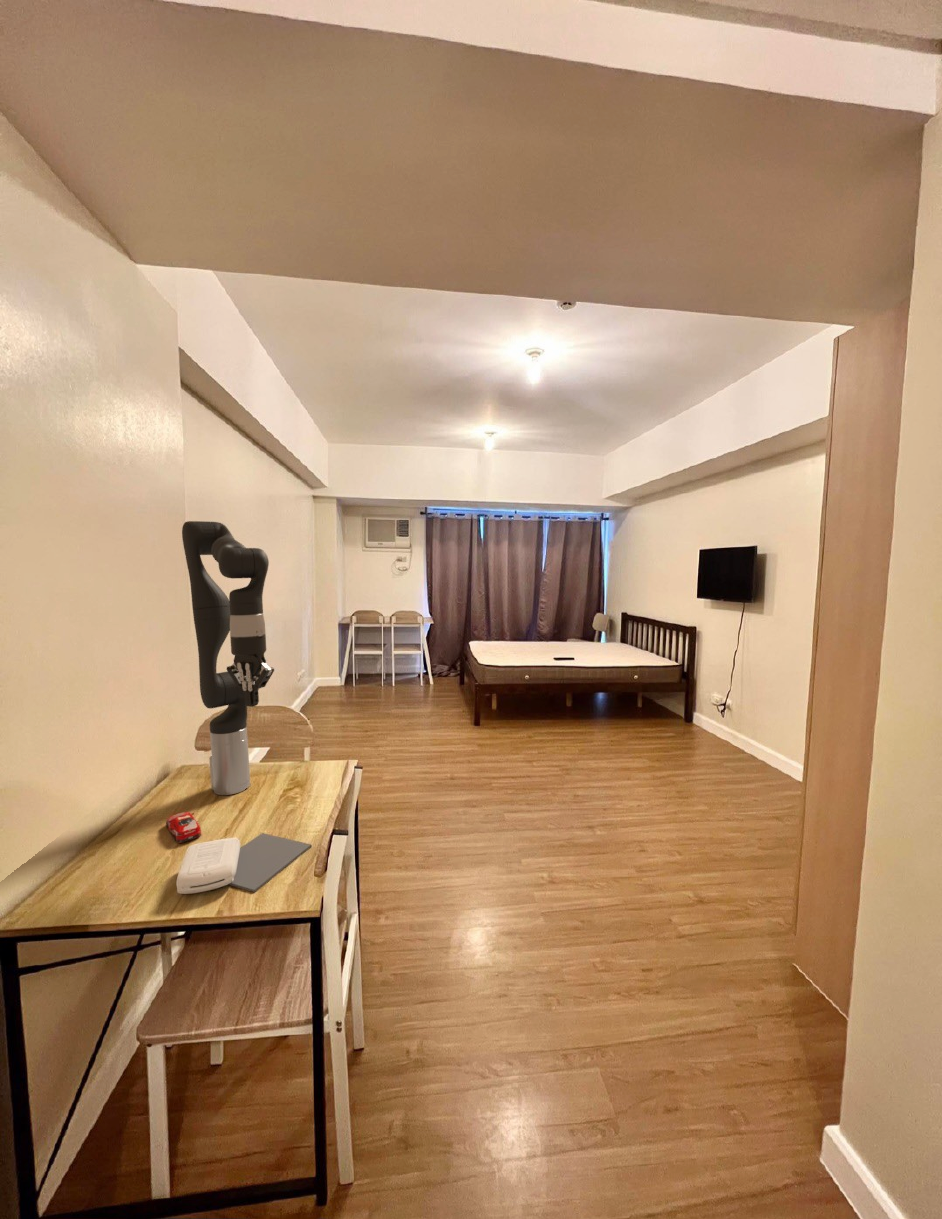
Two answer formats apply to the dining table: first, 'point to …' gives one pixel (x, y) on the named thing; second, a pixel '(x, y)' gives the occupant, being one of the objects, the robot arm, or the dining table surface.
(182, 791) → the dining table surface
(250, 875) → the gray mat
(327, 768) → the dining table surface
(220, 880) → the photo printer
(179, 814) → the race car
